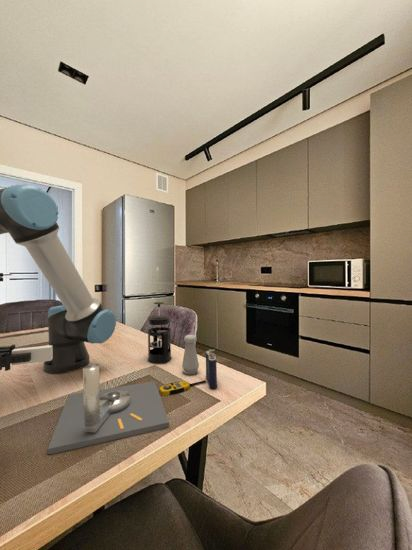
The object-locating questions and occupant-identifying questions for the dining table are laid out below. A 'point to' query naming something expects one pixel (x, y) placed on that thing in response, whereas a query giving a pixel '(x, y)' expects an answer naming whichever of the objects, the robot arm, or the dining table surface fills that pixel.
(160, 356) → the french press
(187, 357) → the salt shaker
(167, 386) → the yellow walkie-talkie
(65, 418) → the plate
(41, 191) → the robot arm
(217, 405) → the dining table surface
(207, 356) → the flask
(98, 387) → the silver faucet
